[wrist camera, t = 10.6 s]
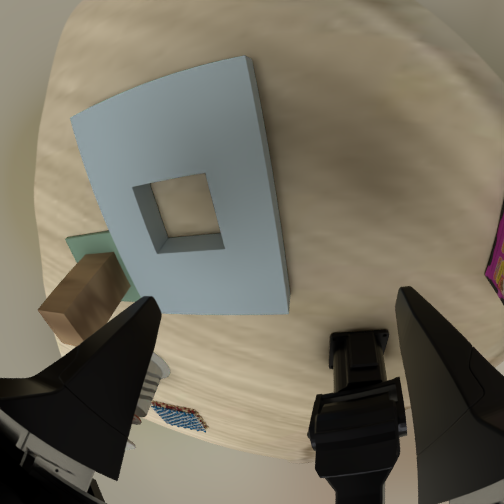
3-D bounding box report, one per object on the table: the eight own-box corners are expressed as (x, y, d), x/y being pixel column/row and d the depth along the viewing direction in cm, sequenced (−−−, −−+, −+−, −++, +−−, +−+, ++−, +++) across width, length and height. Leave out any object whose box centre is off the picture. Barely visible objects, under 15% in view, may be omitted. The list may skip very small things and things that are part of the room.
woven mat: (197, 406, 46) (194, 415, 45) (210, 425, 52) (208, 433, 51) (150, 397, 49) (147, 405, 47) (168, 417, 54) (165, 424, 53)
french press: (142, 379, 43) (94, 500, 22) (95, 336, 38) (28, 467, 17) (183, 377, 39) (134, 522, 19) (131, 328, 34) (54, 493, 14)
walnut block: (130, 286, 28) (90, 349, 21) (102, 286, 29) (62, 342, 22) (113, 251, 26) (63, 313, 19) (85, 254, 27) (37, 309, 20)
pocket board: (290, 294, 26) (288, 314, 24) (158, 296, 29) (149, 312, 27) (251, 58, 15) (244, 55, 13) (89, 111, 18) (70, 117, 16)
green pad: (156, 299, 29) (154, 302, 29) (99, 297, 31) (98, 300, 31) (123, 228, 25) (121, 230, 24) (67, 237, 27) (65, 239, 26)
